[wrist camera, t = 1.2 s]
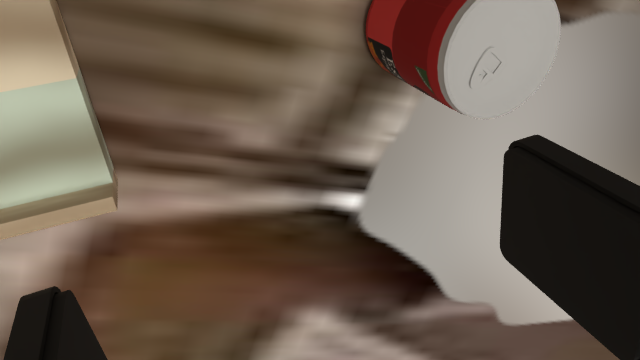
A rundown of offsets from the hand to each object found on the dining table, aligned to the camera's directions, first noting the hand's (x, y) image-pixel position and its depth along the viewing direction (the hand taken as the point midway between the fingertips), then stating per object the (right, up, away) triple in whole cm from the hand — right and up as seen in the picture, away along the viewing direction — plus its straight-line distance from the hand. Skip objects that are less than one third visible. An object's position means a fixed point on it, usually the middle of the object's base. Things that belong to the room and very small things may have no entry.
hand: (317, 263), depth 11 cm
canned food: (+7, +14, +27) cm, 31 cm away
